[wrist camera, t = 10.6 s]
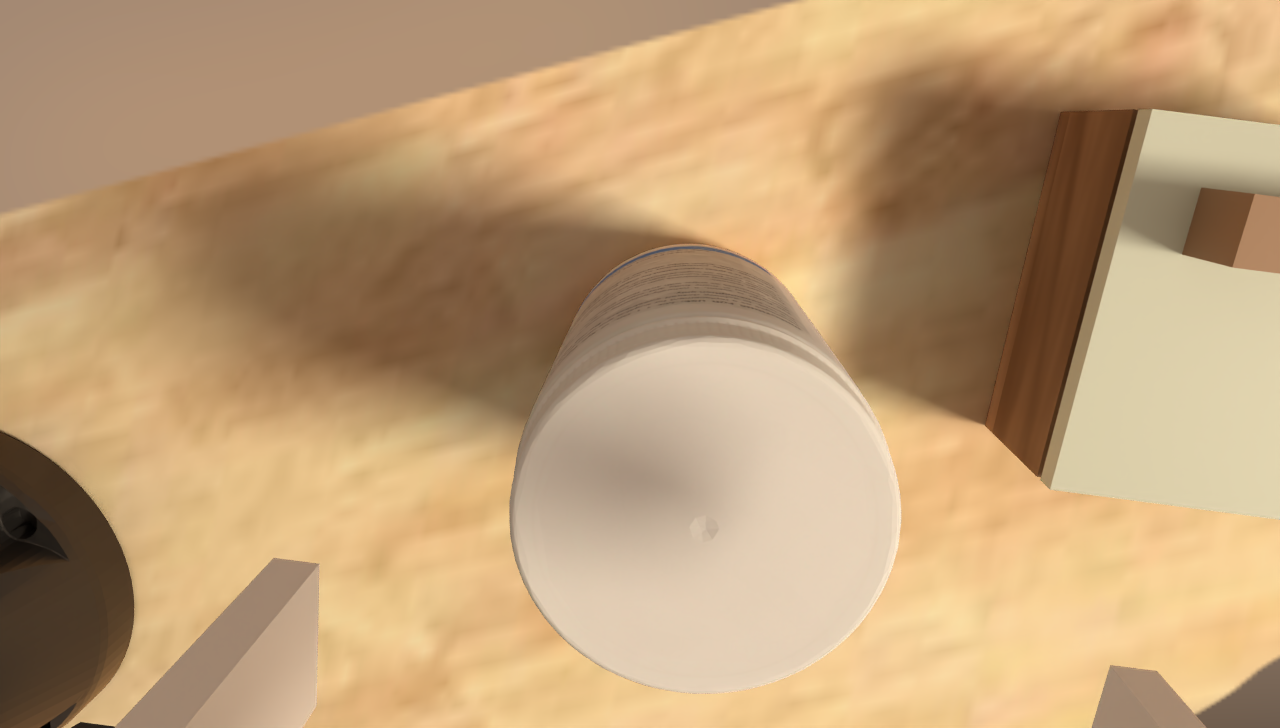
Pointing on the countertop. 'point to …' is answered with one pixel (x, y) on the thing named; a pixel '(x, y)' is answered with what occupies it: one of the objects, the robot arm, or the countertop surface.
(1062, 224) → the box
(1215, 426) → the lid
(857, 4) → the countertop surface
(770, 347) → the supplement tub
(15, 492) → the robot arm
